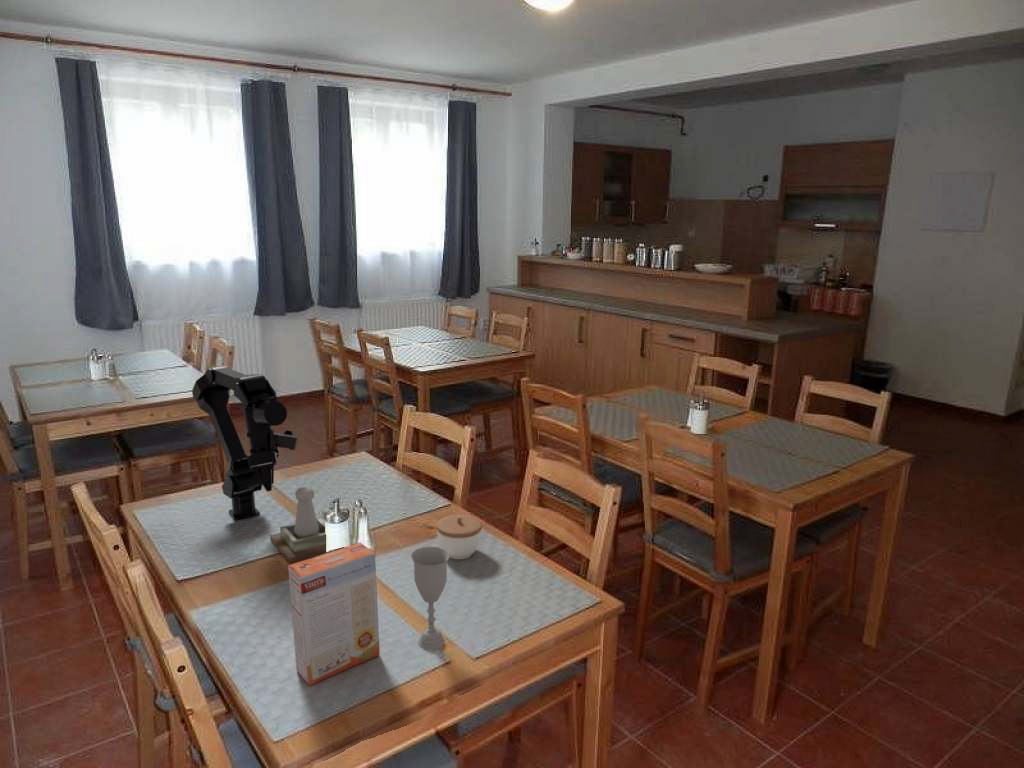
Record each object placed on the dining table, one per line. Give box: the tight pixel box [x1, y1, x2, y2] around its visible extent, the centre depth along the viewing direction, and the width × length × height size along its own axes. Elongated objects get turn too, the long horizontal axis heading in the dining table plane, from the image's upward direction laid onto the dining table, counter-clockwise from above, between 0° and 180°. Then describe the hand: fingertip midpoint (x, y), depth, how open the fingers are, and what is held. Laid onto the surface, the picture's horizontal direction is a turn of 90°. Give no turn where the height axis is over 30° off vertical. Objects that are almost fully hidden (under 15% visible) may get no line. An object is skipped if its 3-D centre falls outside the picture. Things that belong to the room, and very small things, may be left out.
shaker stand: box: [269, 517, 326, 564], centre depth 170 cm, size 14×14×4 cm
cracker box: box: [287, 542, 381, 686], centre depth 123 cm, size 14×6×21 cm, turn 129°
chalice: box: [410, 546, 450, 651], centre depth 130 cm, size 7×7×18 cm
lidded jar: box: [436, 513, 483, 560], centre depth 165 cm, size 11×11×9 cm
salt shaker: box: [294, 486, 319, 540], centre depth 168 cm, size 6×6×13 cm
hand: (270, 487), depth 172 cm, fingers open, 9 cm apart
